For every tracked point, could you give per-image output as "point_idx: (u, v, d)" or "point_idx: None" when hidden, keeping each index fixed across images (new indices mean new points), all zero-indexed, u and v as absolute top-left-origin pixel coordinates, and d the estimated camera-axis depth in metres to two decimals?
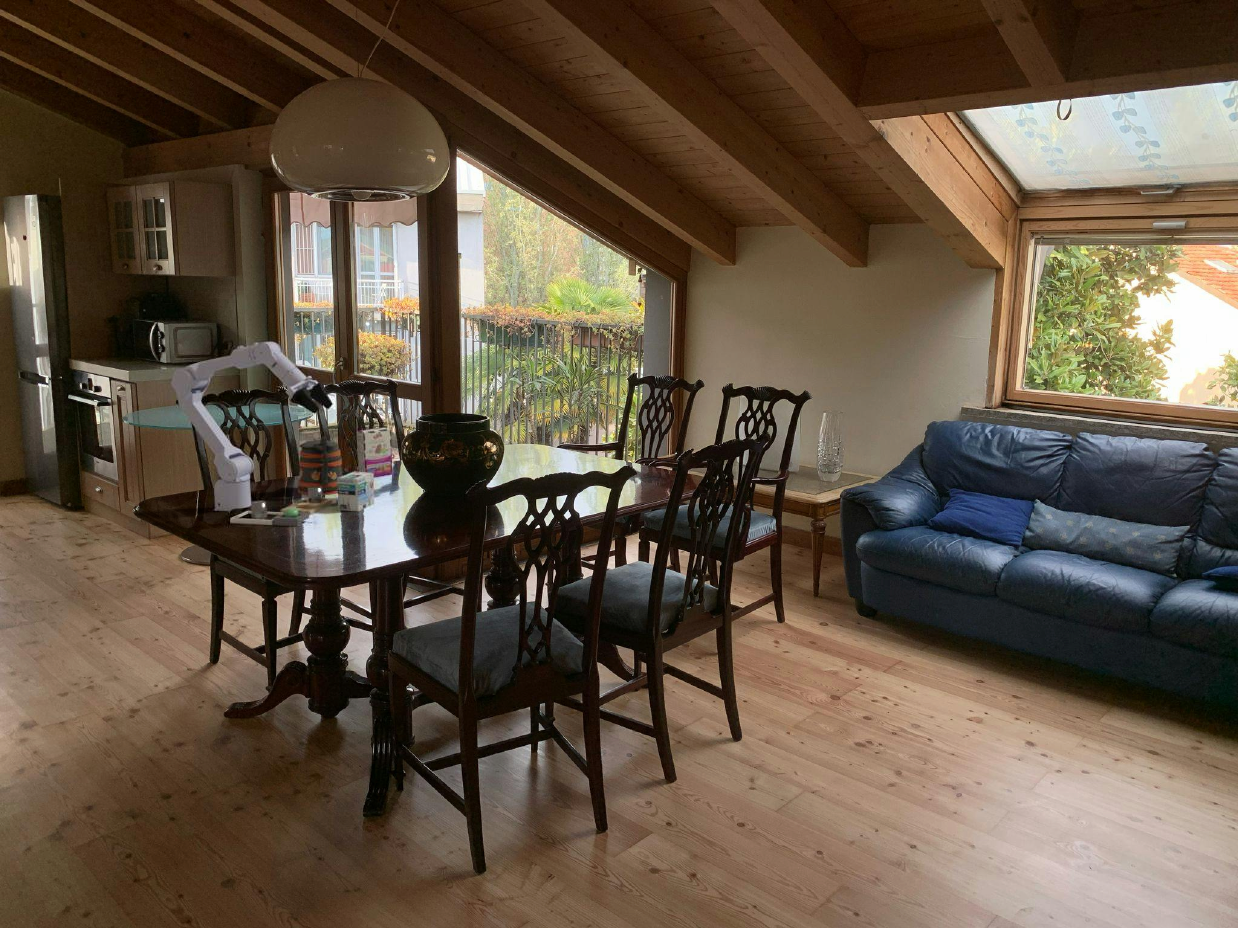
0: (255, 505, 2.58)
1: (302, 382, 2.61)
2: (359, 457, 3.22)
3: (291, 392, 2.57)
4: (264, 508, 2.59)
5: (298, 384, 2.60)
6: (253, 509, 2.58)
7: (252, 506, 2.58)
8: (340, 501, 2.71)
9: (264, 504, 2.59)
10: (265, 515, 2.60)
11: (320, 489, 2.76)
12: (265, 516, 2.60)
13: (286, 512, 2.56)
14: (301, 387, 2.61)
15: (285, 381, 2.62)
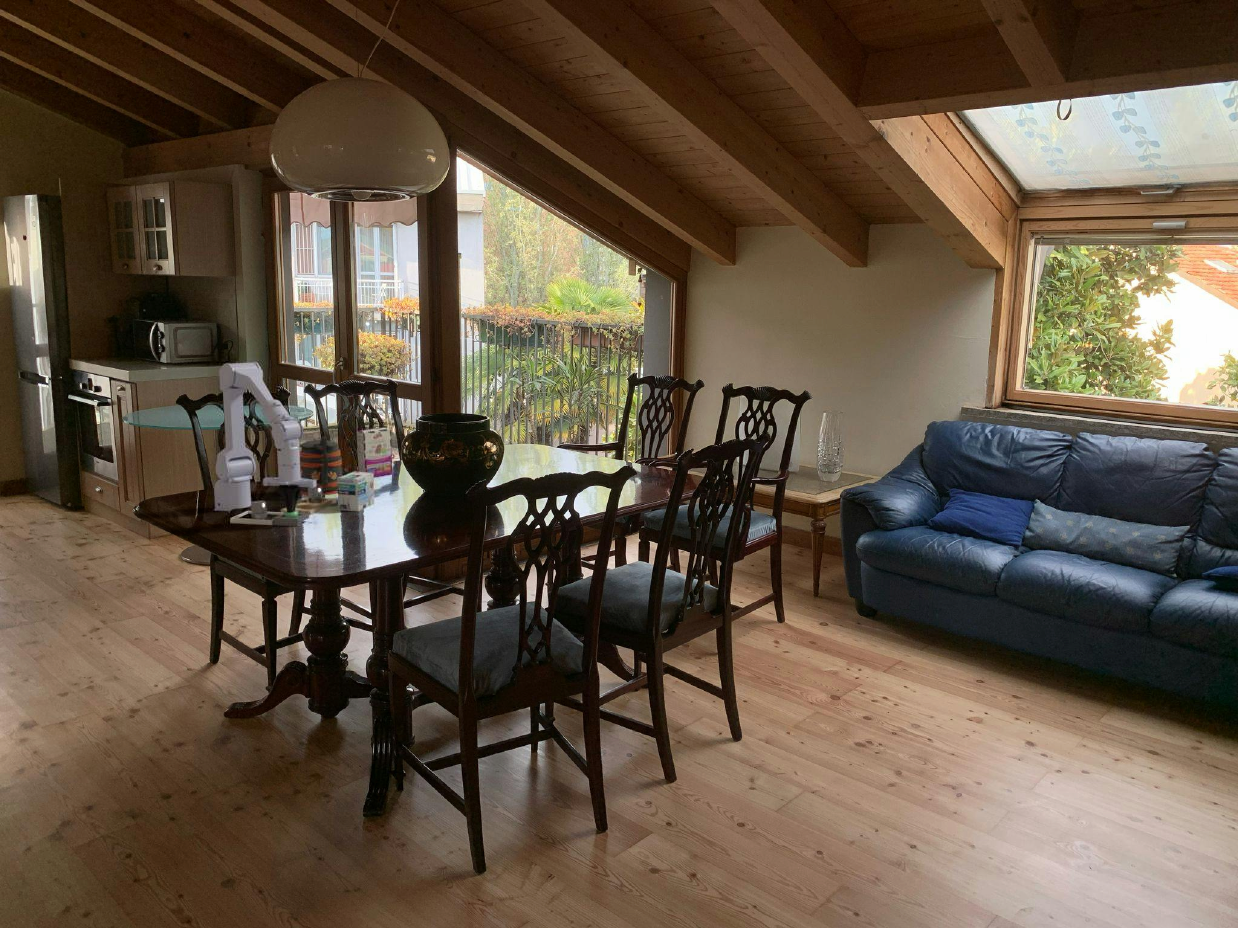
0: (255, 505, 2.58)
1: (277, 482, 2.54)
2: (359, 457, 3.22)
3: None
4: (264, 508, 2.59)
5: (273, 481, 2.55)
6: (253, 509, 2.58)
7: (252, 506, 2.58)
8: (340, 501, 2.71)
9: (264, 504, 2.59)
10: (265, 515, 2.60)
11: (320, 489, 2.76)
12: (265, 516, 2.60)
13: (286, 513, 2.57)
14: (279, 484, 2.56)
15: None
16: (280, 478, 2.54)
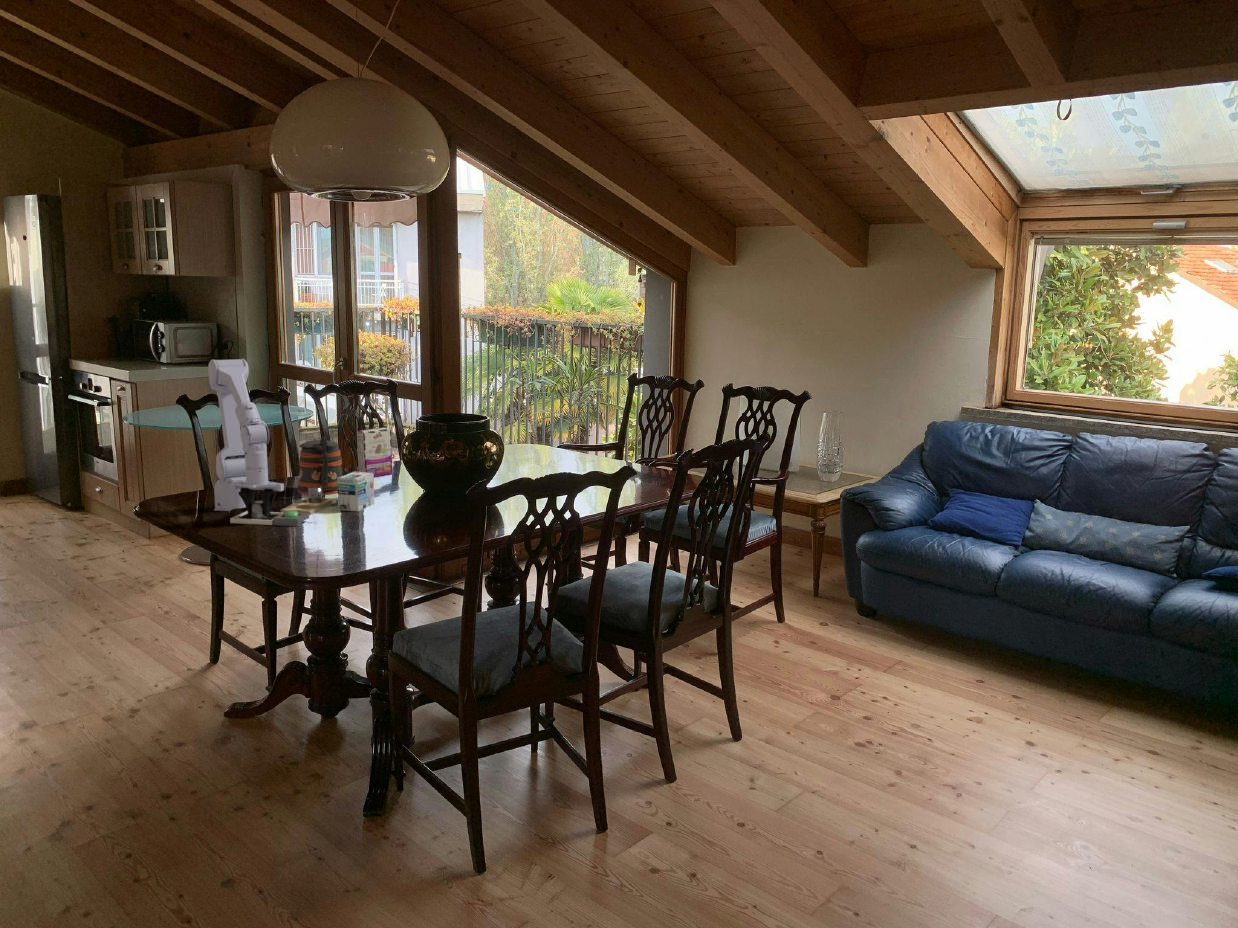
0: (255, 505, 2.58)
1: (245, 485, 2.57)
2: (359, 457, 3.22)
3: None
4: None
5: (240, 485, 2.58)
6: (253, 509, 2.58)
7: (252, 506, 2.58)
8: (340, 501, 2.71)
9: None
10: None
11: (320, 489, 2.76)
12: (265, 516, 2.60)
13: (286, 514, 2.57)
14: (246, 487, 2.58)
15: None
16: (248, 482, 2.56)
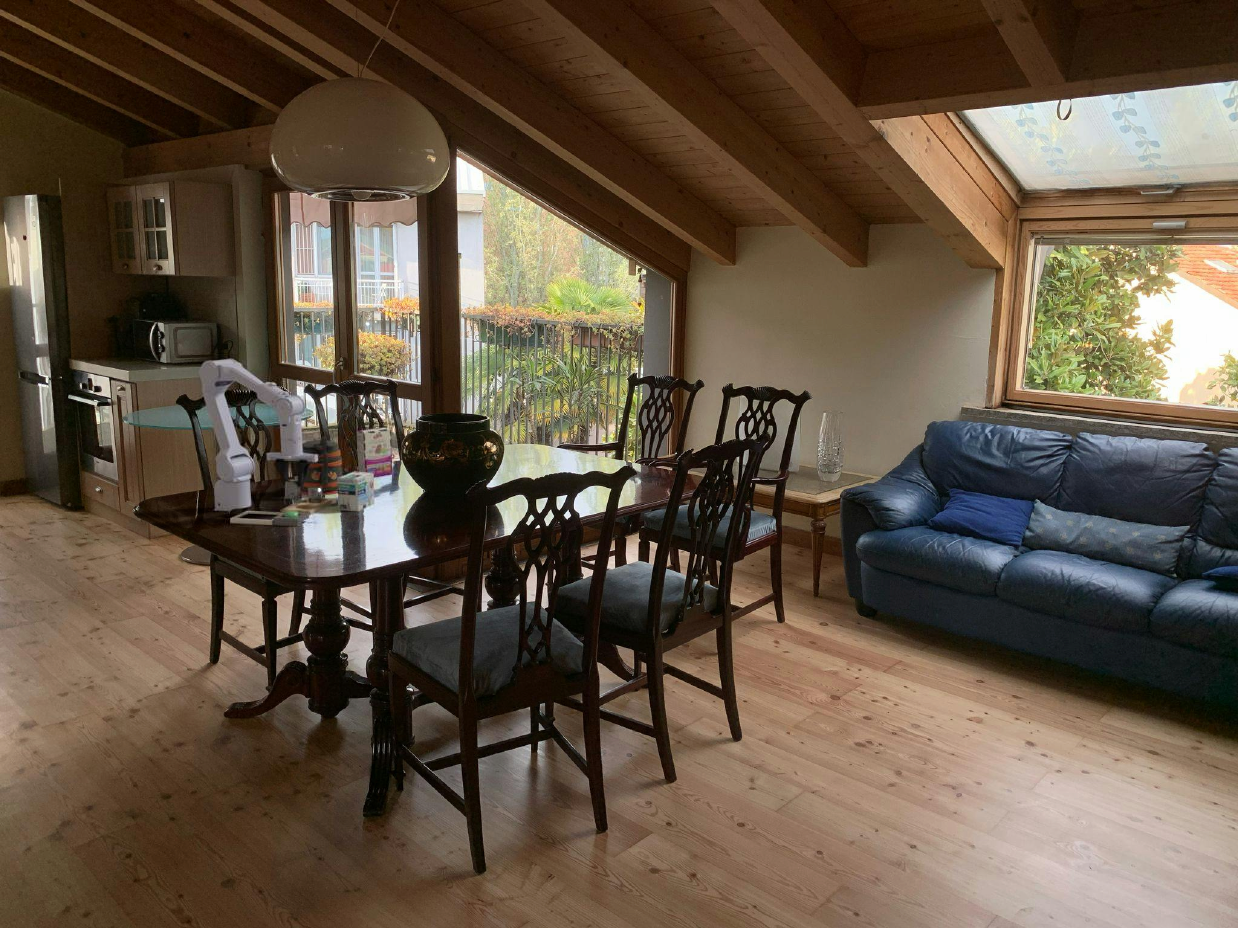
0: (288, 483, 2.63)
1: (280, 456, 2.62)
2: (359, 457, 3.22)
3: None
4: (297, 486, 2.64)
5: (276, 456, 2.63)
6: (286, 487, 2.64)
7: (285, 484, 2.64)
8: (340, 501, 2.71)
9: (297, 482, 2.64)
10: (298, 493, 2.65)
11: (320, 489, 2.76)
12: (298, 494, 2.65)
13: (286, 514, 2.57)
14: (281, 458, 2.64)
15: None
16: (283, 453, 2.62)
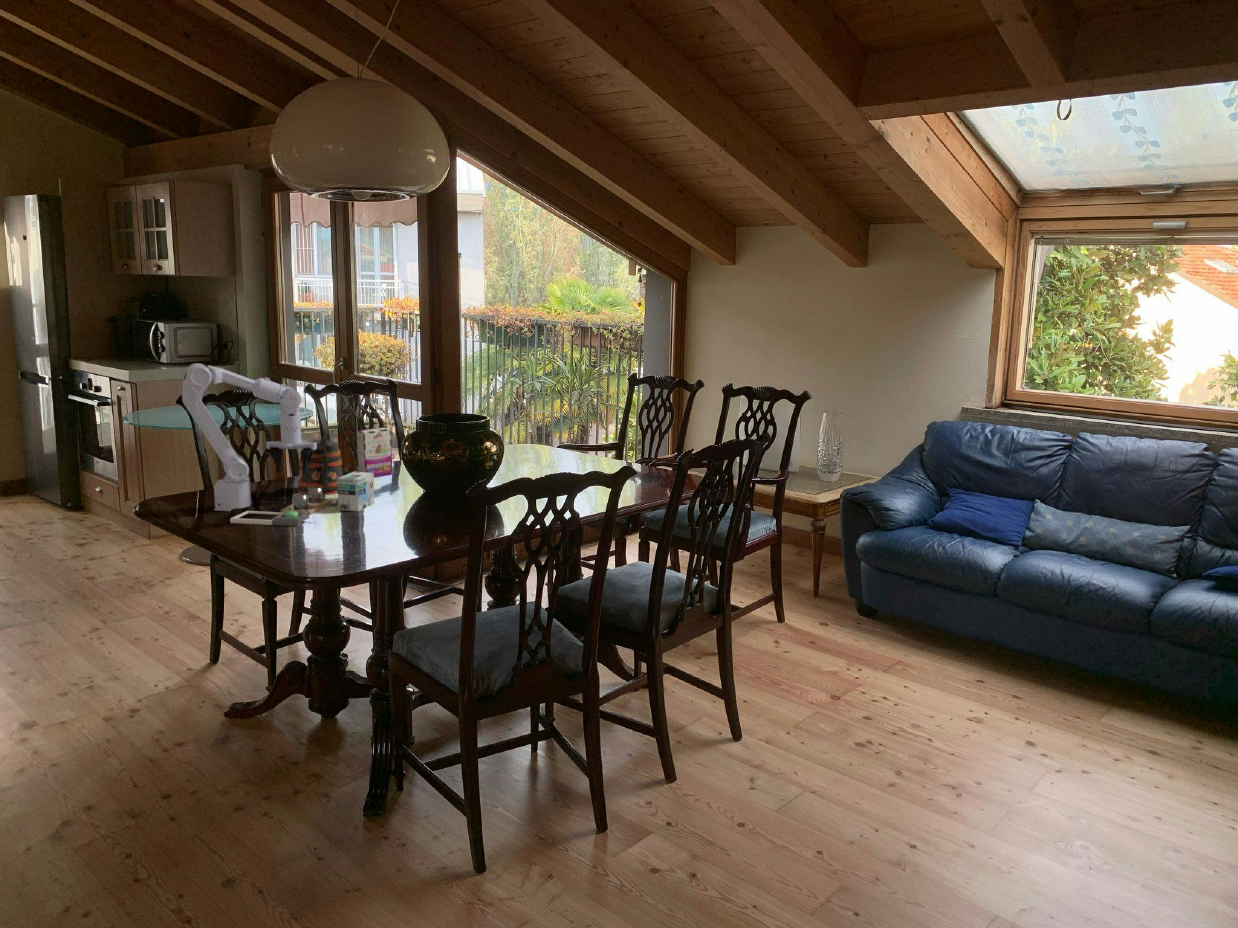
0: (296, 497, 2.65)
1: (280, 445, 2.76)
2: (359, 457, 3.22)
3: None
4: (305, 500, 2.67)
5: (276, 444, 2.76)
6: (294, 501, 2.66)
7: (293, 498, 2.66)
8: (340, 501, 2.71)
9: (305, 496, 2.66)
10: (306, 507, 2.67)
11: (320, 489, 2.76)
12: (306, 508, 2.67)
13: (286, 514, 2.57)
14: (281, 446, 2.77)
15: None
16: (283, 441, 2.75)
